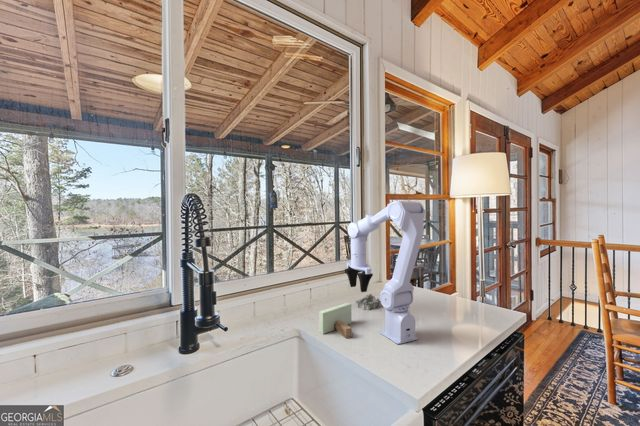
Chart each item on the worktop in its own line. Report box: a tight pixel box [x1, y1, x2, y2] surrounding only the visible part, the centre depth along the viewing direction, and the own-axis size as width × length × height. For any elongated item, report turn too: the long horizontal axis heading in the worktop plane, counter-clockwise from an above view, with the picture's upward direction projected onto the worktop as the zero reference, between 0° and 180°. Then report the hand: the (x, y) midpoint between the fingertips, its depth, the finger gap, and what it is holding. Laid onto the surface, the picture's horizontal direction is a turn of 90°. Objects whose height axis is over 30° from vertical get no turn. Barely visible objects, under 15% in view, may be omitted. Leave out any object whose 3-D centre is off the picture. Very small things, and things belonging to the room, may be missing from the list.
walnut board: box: [334, 320, 353, 339], centre depth 102 cm, size 18×2×3 cm, turn 25°
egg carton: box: [355, 293, 382, 311], centre depth 125 cm, size 11×8×4 cm
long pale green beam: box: [318, 302, 352, 335], centre depth 102 cm, size 14×2×7 cm, turn 132°
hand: (358, 289), depth 113 cm, fingers open, 7 cm apart
